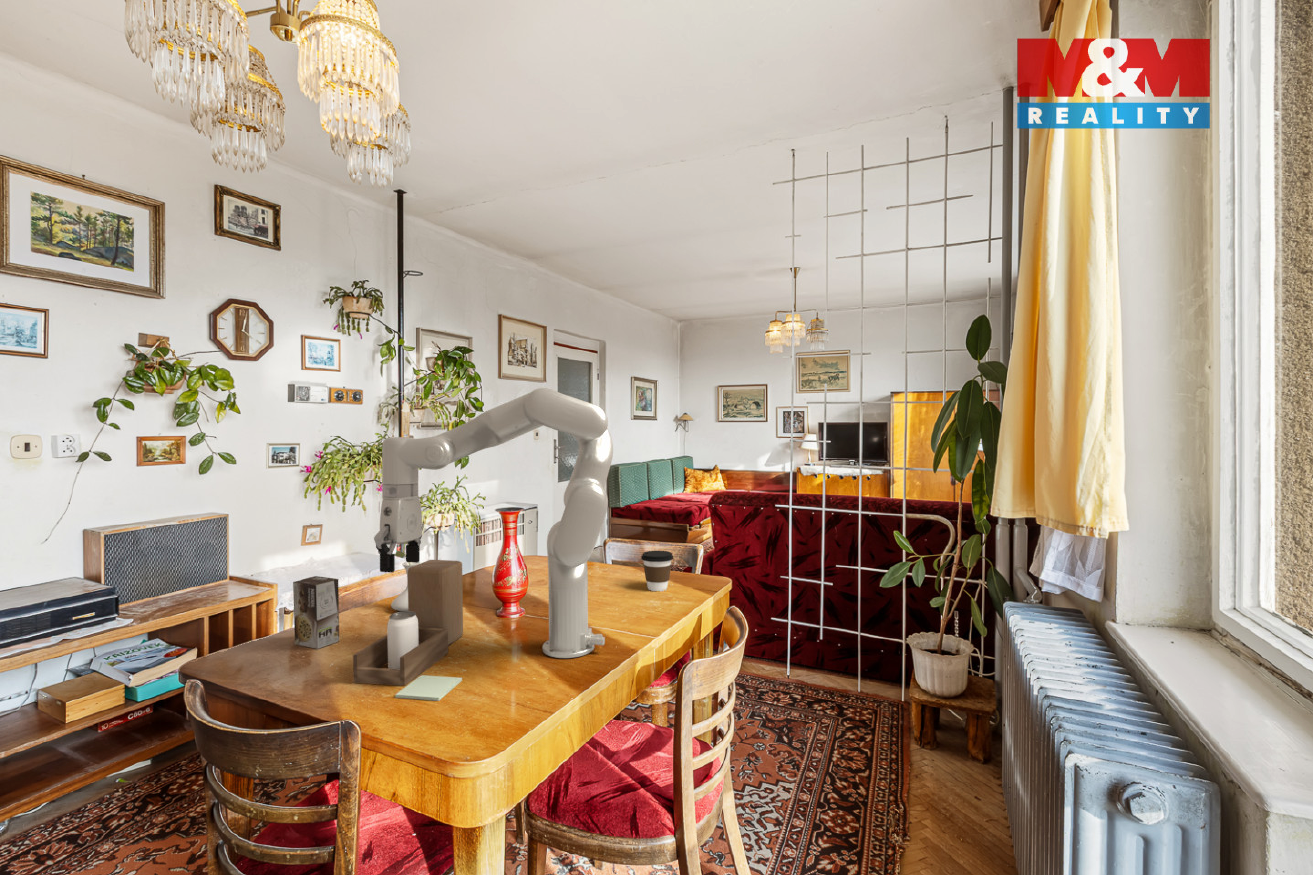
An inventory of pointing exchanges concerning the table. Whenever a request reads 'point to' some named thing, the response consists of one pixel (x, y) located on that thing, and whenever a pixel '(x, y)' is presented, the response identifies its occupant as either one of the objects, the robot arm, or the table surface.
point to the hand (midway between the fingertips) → (400, 566)
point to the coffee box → (316, 611)
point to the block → (437, 596)
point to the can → (401, 636)
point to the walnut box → (411, 663)
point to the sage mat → (428, 688)
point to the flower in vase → (402, 600)
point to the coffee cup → (657, 569)
